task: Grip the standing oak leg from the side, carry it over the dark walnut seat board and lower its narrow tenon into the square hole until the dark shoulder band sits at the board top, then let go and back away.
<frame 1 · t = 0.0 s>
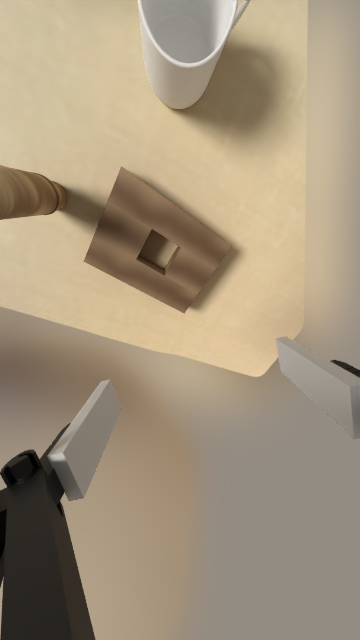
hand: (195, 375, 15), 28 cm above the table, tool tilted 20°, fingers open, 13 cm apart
mug: (189, 59, 26), on the table
seat board: (158, 248, 37), on the table
oak leg: (54, 195, 31), on the table
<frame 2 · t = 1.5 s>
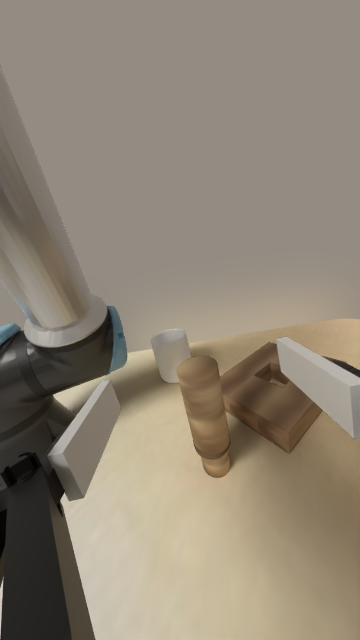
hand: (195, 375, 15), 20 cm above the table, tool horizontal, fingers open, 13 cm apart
mug: (177, 370, 52), on the table
seat board: (276, 391, 38), on the table
oak leg: (216, 463, 28), on the table
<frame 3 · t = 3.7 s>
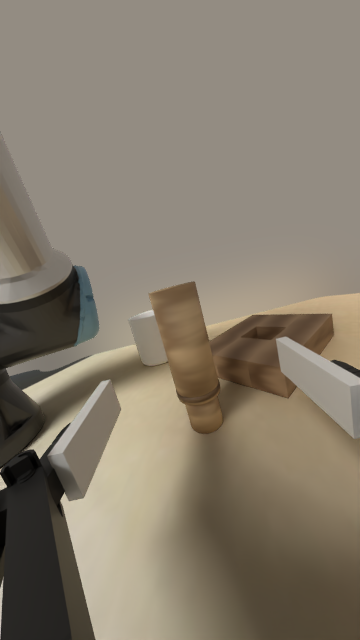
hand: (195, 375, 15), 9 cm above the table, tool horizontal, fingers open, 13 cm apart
mug: (160, 355, 48), on the table
seat board: (266, 353, 35), on the table
oak leg: (206, 420, 23), on the table
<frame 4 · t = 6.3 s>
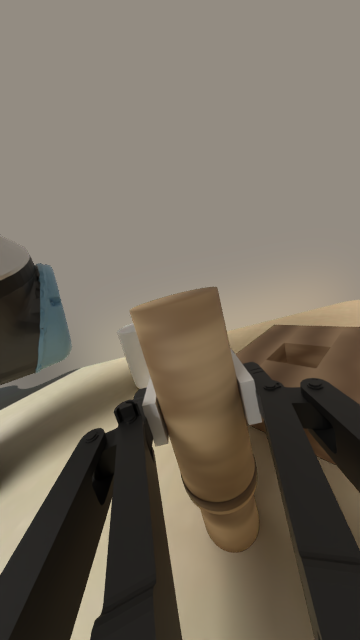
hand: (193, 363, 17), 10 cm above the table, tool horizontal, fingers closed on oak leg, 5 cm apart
mug: (158, 374, 39), on the table
seat board: (301, 381, 26), on the table
oak leg: (230, 515, 14), on the table, touching gripper
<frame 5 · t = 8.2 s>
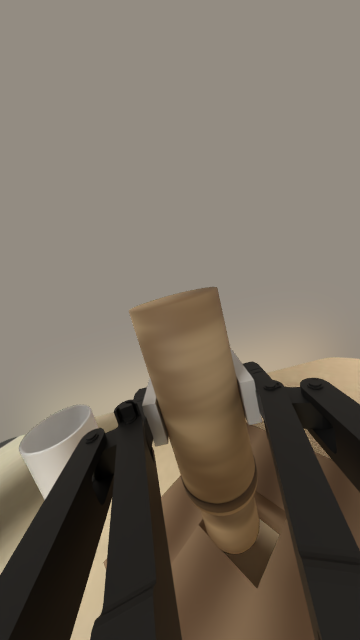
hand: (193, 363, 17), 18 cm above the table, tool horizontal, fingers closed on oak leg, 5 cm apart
mug: (90, 476, 31), on the table
seat board: (250, 550, 18), on the table
oak leg: (230, 516, 14), point 9 cm above the table, touching gripper
when the fingers open (10 cm above the table, at t = 10.6 s): oak leg stays where it is, resting in seat board.
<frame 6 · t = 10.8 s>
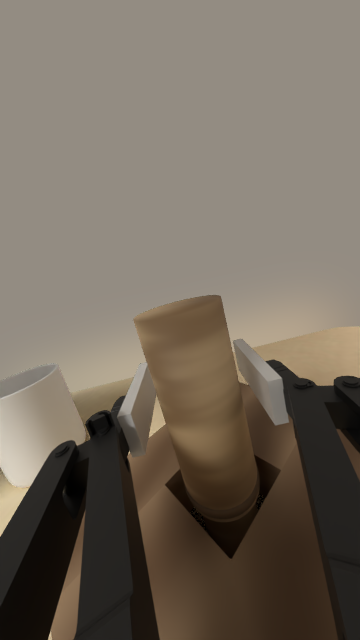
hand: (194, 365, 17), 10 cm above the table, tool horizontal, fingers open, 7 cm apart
mug: (60, 445, 27), on the table
seat board: (232, 520, 14), on the table
oak leg: (232, 522, 14), resting in seat board
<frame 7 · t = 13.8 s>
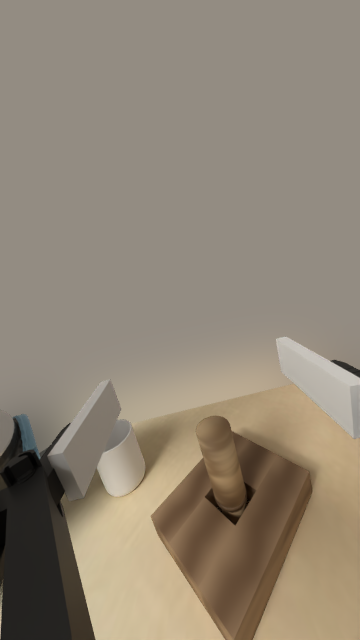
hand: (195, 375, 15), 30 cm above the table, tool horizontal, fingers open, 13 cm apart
mug: (128, 470, 44), on the table
seat board: (235, 513, 31), on the table
oak leg: (235, 513, 31), resting in seat board
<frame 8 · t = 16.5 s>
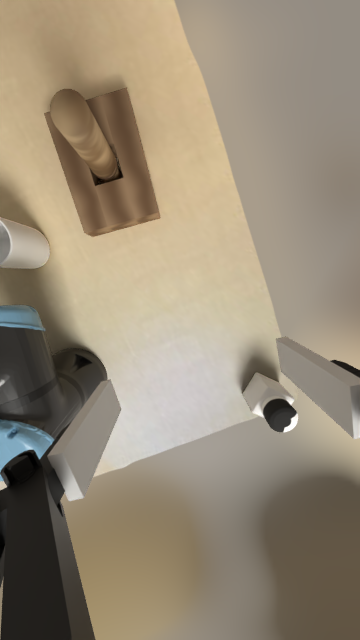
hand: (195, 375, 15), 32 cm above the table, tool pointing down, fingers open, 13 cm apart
mug: (24, 245, 43), on the table
seat board: (111, 175, 40), on the table
medicine bottle: (260, 387, 51), on the table
oak leg: (111, 175, 40), resting in seat board
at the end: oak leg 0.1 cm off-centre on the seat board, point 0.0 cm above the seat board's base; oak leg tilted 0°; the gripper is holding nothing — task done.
